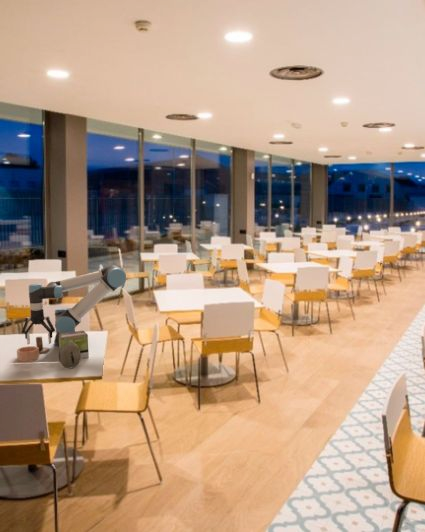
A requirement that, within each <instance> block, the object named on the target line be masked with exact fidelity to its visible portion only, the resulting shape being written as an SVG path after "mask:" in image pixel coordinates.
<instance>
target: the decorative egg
mask: <svg viewBox="0 0 425 532" xmlns="http://www.w3.org/2000/svg"><path fill="white" fill-rule="evenodd" d="M80 358H81V354H80V350H79V347H78V346H77V345H76V344H75V343H74V342H70V341H69V342H65V343H64V344H63V345H62V346H61V348H60V351H58V359H59V362H60V364H61V365H62V367H64V368H66V369H73V368H75V367H77V366H78V365H79V363H80V362H81V359H80Z"/></svg>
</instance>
